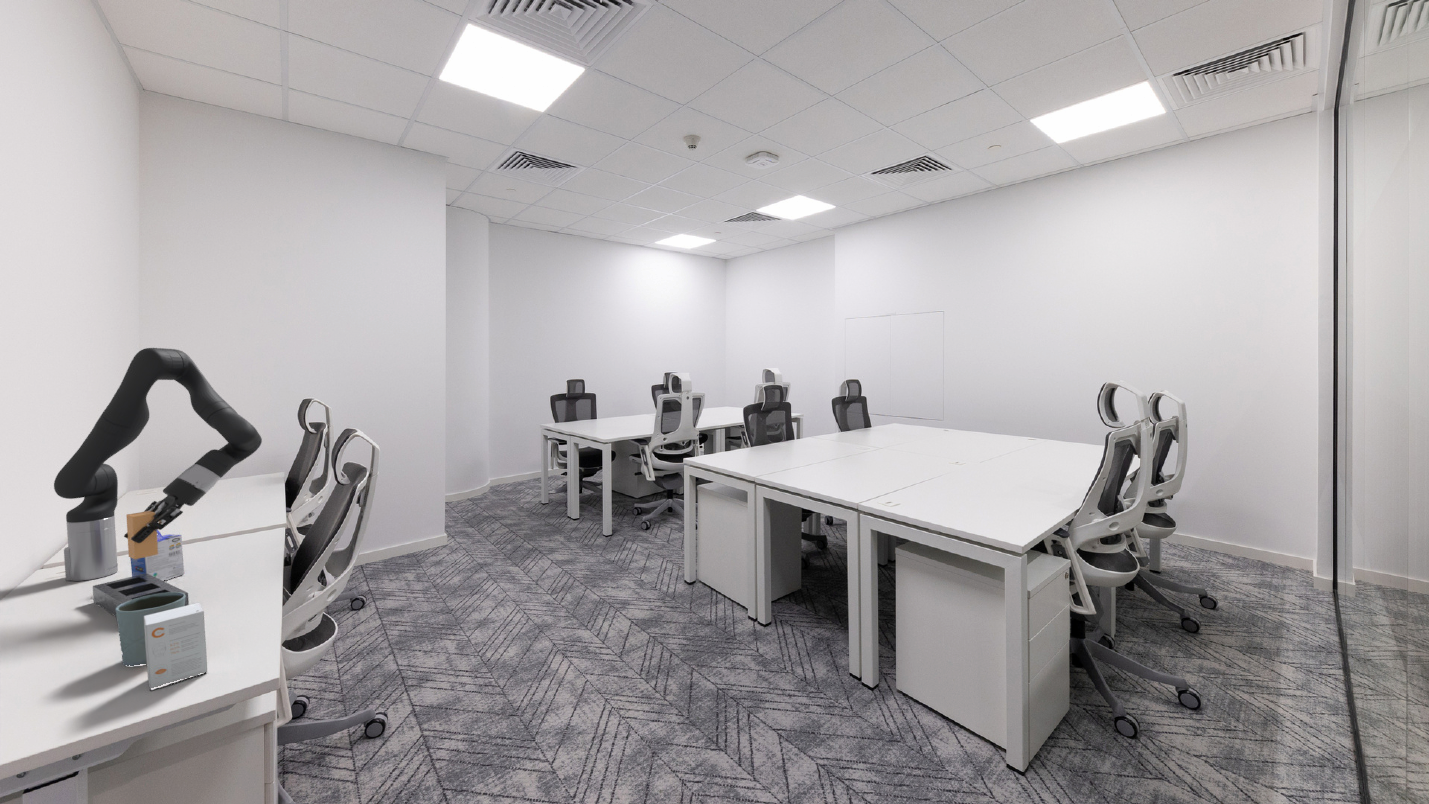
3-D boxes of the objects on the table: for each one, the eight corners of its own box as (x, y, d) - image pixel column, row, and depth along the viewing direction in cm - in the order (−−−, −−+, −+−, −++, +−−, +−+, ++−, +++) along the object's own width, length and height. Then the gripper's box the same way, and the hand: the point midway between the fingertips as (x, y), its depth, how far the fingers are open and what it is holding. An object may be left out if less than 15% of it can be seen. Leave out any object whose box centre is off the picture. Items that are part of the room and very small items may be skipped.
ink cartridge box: (169, 573, 159) (166, 526, 158) (185, 574, 158) (183, 526, 157) (130, 586, 149) (127, 536, 148) (147, 587, 148) (144, 537, 147)
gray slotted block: (93, 602, 138) (92, 585, 138) (147, 589, 147) (146, 573, 147) (132, 626, 125) (131, 608, 125) (189, 610, 134) (188, 592, 134)
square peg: (134, 559, 134) (132, 516, 133) (128, 556, 136) (126, 514, 135) (157, 554, 137) (155, 512, 137) (151, 551, 139) (149, 510, 139)
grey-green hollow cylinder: (111, 661, 110) (108, 605, 110) (177, 639, 119) (174, 587, 119) (129, 674, 106) (125, 615, 105) (196, 650, 115) (193, 596, 114)
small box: (203, 662, 110) (200, 601, 109) (208, 673, 106) (204, 610, 105) (146, 679, 104) (142, 615, 103) (148, 692, 100) (145, 625, 99)
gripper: (168, 474, 145) (105, 528, 135) (190, 479, 139) (126, 536, 129) (194, 489, 150) (136, 543, 140) (217, 495, 144) (157, 551, 134)
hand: (131, 539), depth 135 cm, fingers closed on square peg, 4 cm apart
